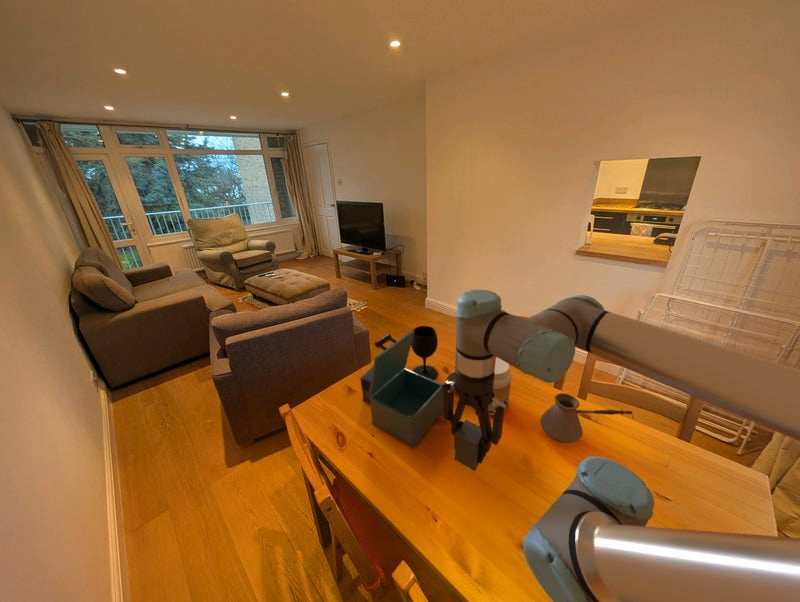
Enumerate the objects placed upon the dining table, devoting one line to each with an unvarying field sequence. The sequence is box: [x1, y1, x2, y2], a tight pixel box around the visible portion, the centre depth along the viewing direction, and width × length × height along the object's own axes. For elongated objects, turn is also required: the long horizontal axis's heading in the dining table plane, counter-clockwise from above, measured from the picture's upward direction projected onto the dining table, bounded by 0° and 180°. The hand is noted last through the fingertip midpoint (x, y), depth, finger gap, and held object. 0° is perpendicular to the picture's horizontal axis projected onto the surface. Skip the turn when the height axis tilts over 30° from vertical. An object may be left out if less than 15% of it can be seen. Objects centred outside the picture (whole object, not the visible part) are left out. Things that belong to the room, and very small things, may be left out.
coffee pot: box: [539, 392, 634, 444], centre depth 85 cm, size 21×12×15 cm, turn 61°
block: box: [454, 419, 482, 472], centre depth 65 cm, size 5×5×8 cm
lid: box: [369, 329, 414, 397], centre depth 96 cm, size 17×19×6 cm
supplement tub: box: [488, 357, 512, 416], centre depth 99 cm, size 12×12×17 cm
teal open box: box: [369, 367, 444, 448], centre depth 97 cm, size 17×19×11 cm
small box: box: [359, 364, 374, 404], centre depth 108 cm, size 11×6×10 cm, turn 149°
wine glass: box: [410, 325, 439, 381], centre depth 116 cm, size 10×10×20 cm
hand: (469, 451), depth 66 cm, fingers closed on block, 5 cm apart
